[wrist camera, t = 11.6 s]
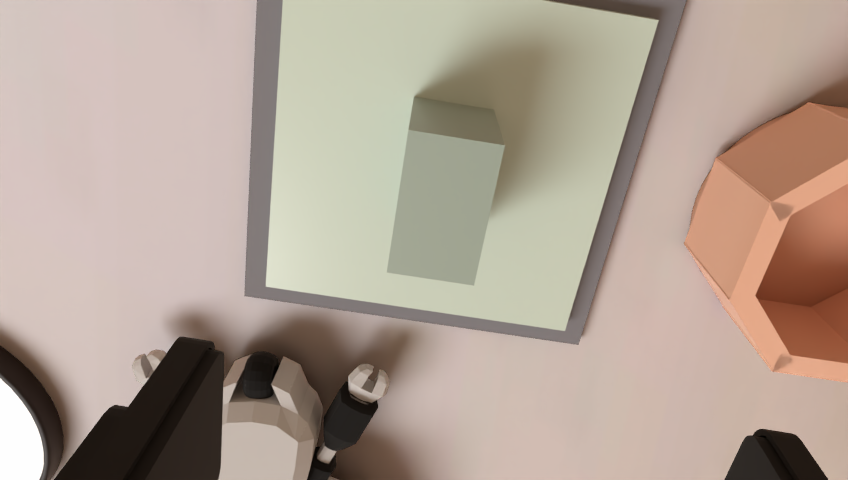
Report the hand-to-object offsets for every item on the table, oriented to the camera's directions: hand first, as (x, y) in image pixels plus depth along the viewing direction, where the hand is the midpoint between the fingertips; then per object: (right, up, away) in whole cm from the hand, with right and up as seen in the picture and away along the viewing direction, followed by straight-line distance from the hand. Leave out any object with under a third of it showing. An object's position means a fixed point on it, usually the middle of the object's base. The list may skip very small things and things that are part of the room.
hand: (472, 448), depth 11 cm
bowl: (+15, +5, +15) cm, 21 cm away
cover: (0, +7, +14) cm, 15 cm away
